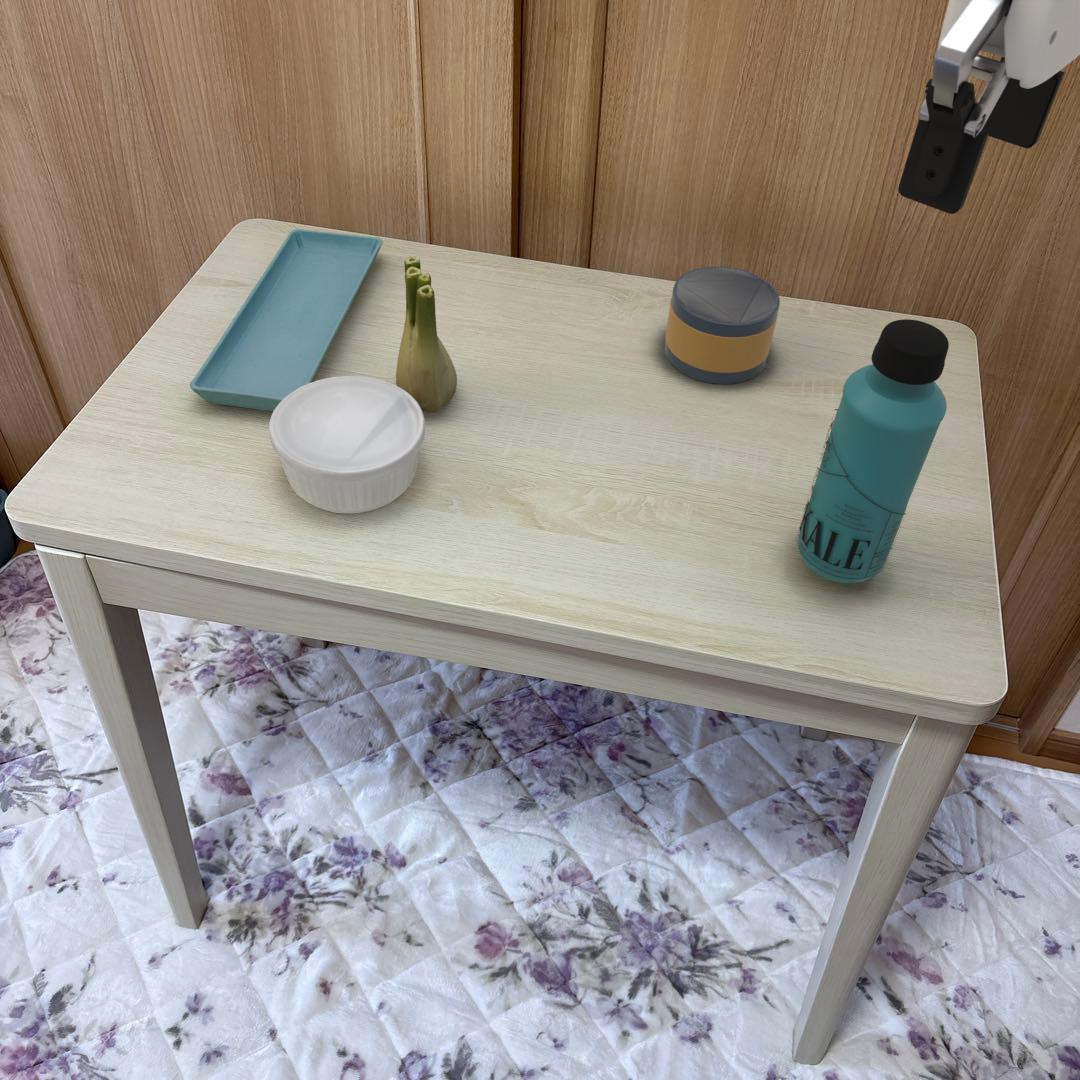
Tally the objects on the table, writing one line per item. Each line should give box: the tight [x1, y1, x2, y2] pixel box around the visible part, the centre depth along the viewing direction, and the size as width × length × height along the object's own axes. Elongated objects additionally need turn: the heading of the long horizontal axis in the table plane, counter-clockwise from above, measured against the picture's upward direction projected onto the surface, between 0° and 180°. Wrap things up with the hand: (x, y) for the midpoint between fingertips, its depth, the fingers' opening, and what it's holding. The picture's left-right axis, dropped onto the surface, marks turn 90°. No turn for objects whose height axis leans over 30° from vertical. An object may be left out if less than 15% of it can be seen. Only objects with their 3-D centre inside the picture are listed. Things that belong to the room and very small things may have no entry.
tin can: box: [664, 265, 781, 385], centre depth 91 cm, size 9×9×6 cm
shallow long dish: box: [189, 228, 384, 412], centre depth 93 cm, size 26×9×2 cm, turn 171°
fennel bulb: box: [395, 255, 458, 413], centre depth 83 cm, size 6×5×12 cm
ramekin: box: [268, 375, 426, 514], centre depth 78 cm, size 11×11×5 cm
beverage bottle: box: [796, 318, 950, 584], centre depth 68 cm, size 6×7×20 cm
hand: (968, 169), depth 55 cm, fingers open, 9 cm apart
